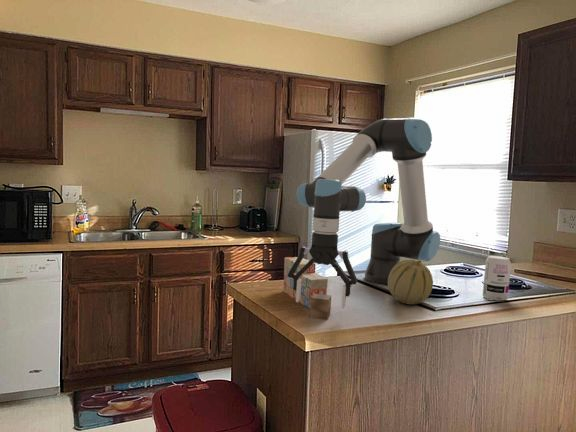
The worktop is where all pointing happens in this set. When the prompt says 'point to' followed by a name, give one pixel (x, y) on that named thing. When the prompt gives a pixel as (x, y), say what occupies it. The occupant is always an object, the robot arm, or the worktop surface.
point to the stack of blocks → (304, 281)
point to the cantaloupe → (410, 282)
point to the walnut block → (320, 306)
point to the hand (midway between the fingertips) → (320, 304)
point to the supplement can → (496, 278)
